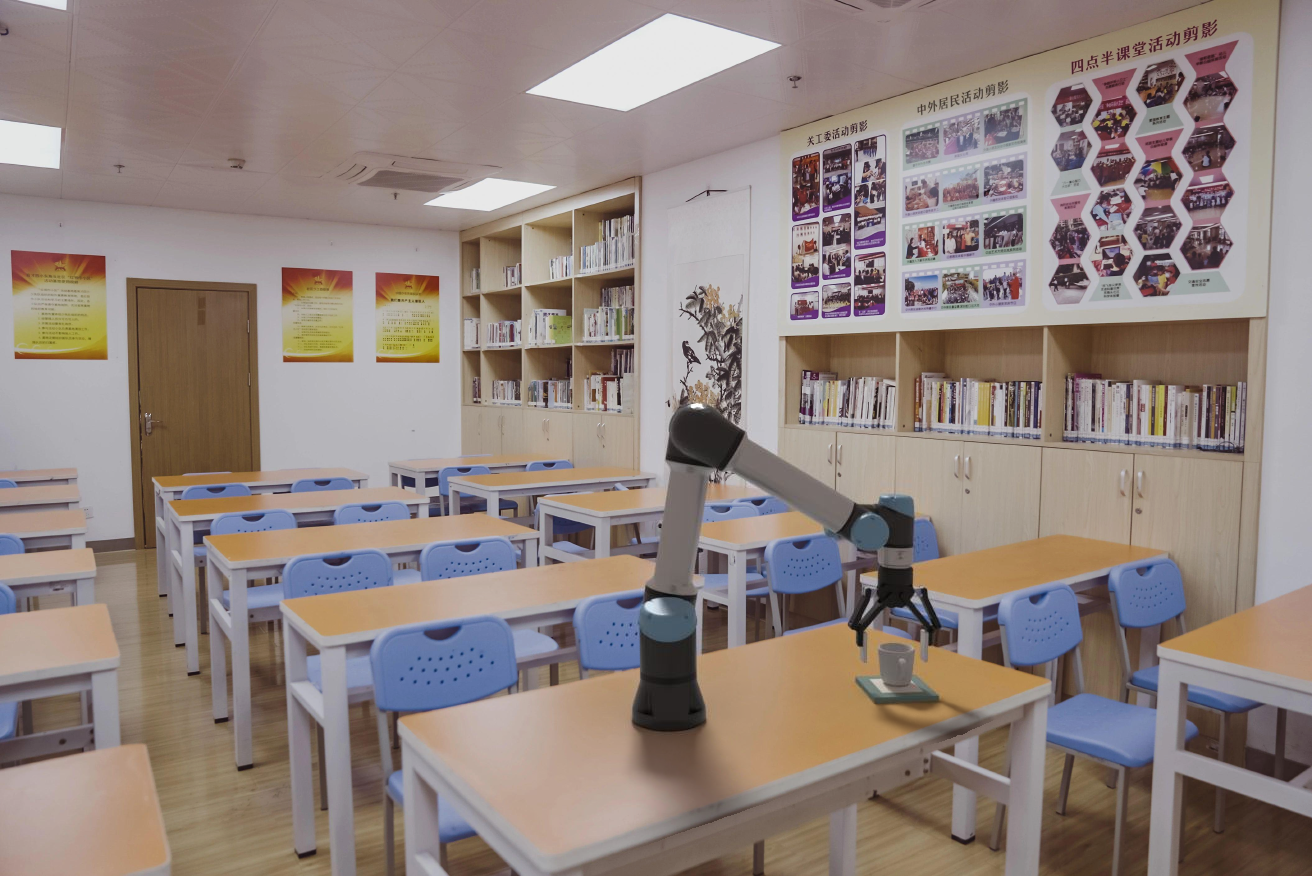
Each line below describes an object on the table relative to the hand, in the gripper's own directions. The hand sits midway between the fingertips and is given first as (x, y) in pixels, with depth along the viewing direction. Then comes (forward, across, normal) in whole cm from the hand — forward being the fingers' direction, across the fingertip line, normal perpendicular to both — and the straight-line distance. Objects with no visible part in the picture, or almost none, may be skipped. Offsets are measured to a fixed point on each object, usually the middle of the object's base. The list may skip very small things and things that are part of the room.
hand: (893, 660), depth 189 cm
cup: (+6, +1, 0) cm, 6 cm away
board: (+7, +1, 0) cm, 7 cm away
